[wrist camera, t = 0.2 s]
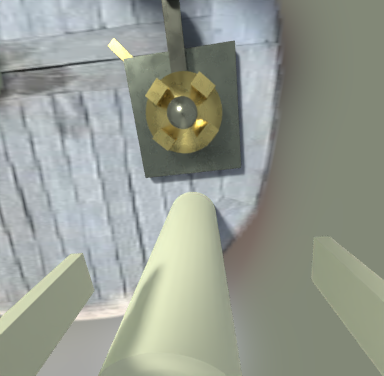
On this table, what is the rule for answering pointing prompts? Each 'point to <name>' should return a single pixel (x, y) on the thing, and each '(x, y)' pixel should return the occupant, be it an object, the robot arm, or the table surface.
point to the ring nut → (181, 96)
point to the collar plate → (227, 90)
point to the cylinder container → (180, 303)
